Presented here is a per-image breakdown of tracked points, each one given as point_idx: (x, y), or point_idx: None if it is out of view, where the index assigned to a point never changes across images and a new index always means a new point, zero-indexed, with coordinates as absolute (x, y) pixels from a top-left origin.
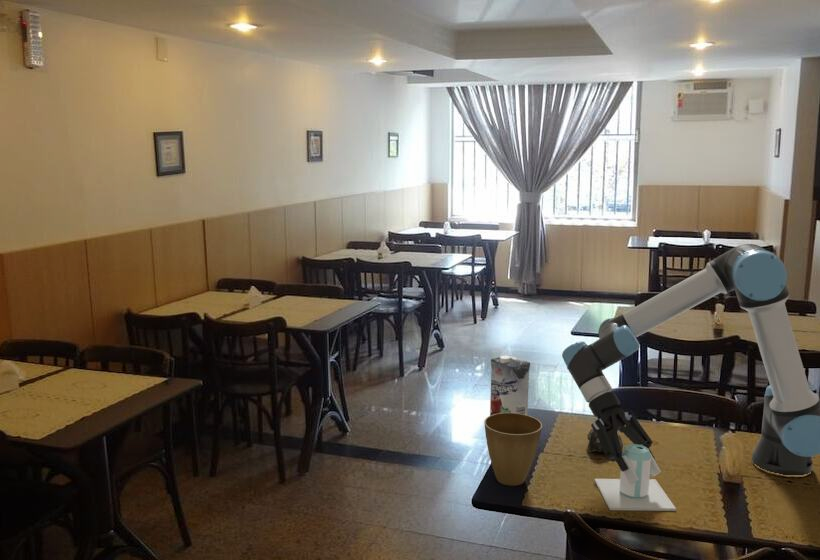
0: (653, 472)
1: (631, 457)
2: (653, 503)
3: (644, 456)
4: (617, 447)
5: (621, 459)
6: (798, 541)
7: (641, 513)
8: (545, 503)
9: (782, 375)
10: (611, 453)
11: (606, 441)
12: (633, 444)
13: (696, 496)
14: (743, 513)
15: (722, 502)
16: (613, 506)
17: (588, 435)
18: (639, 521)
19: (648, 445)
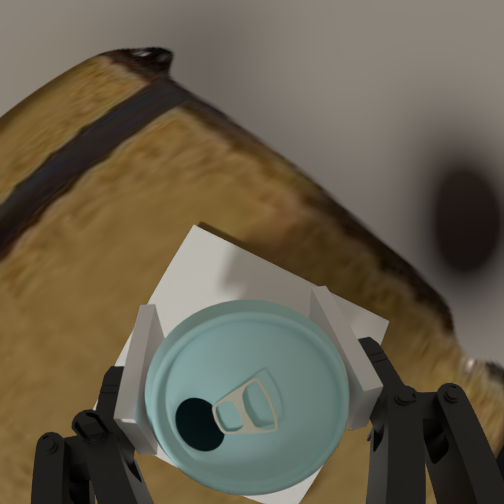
0: (161, 341)
1: (339, 357)
2: (235, 283)
3: (259, 310)
4: (419, 439)
5: (387, 382)
6: (101, 62)
7: (309, 264)
8: (490, 409)
9: None
10: (462, 399)
11: (493, 466)
12: (214, 483)
13: (66, 267)
14: (64, 152)
15: (47, 210)
16: (374, 325)
17: None
18: (346, 230)
19: (102, 419)
